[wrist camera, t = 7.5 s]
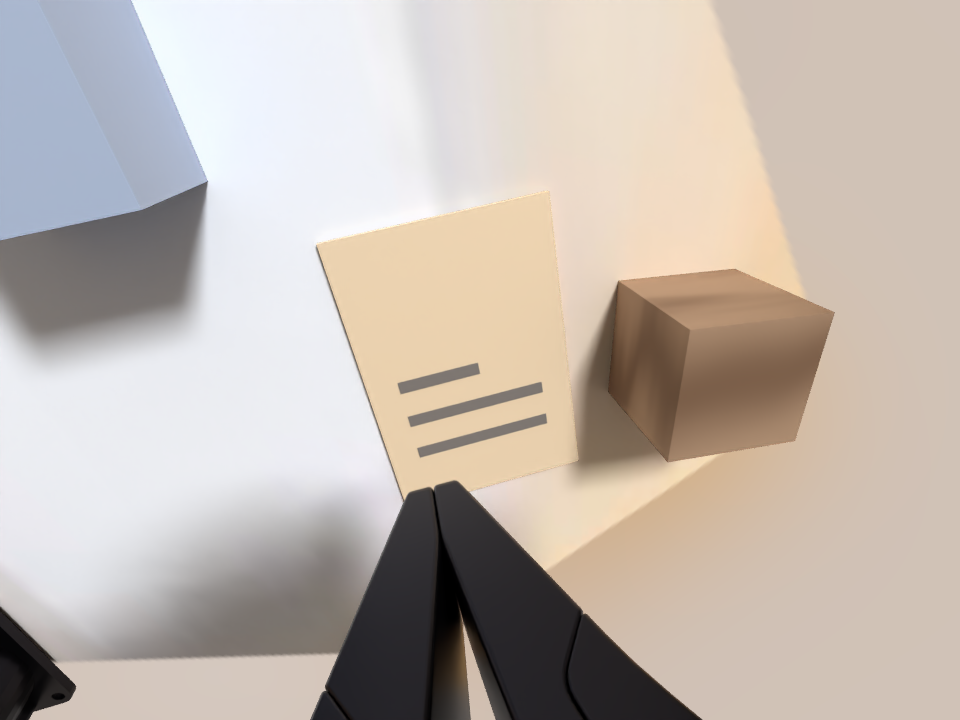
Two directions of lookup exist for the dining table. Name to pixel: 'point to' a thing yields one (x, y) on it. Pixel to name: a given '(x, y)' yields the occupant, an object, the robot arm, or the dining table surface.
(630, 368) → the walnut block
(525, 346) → the letter
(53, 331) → the dining table surface
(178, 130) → the cube
